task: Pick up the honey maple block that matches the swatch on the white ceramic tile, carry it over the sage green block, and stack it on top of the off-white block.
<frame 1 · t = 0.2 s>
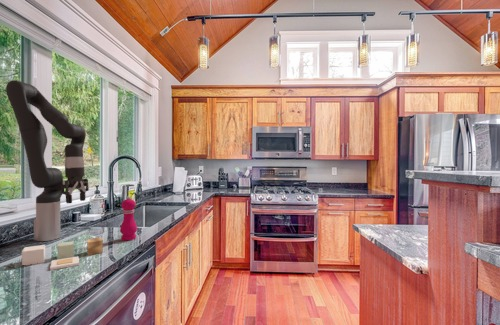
hand: (76, 201, 127), 17 cm above the countertop, tool pointing down, fingers open, 8 cm apart
maple block: (94, 252, 108), on the countertop
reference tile: (65, 263, 95), on the countertop
sage block: (66, 257, 103), on the countertop
pepper mill: (128, 239, 127), on the countertop
base block: (34, 262, 98), on the countertop
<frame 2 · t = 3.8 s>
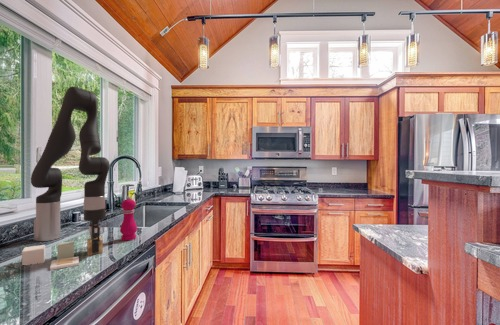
hand: (94, 250, 108), 1 cm above the countertop, tool pointing down, fingers closed on maple block, 5 cm apart
maple block: (94, 252, 108), on the countertop, touching gripper
everything else where it was.
when the fingers open (7 cm above the countertop, at t = 8.7 s): maple block drops 2 cm, resting on base block.
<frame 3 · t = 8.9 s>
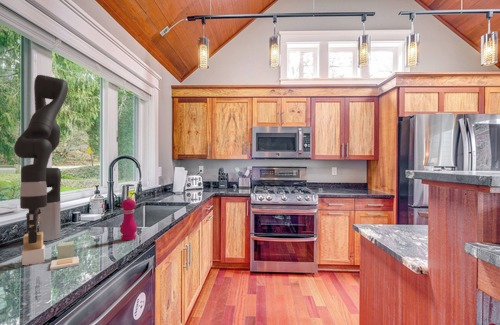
hand: (34, 240, 98), 8 cm above the countertop, tool pointing down, fingers open, 7 cm apart
maple block: (33, 248, 98), point 5 cm above the countertop, touching base block
base block: (33, 262, 98), on the countertop, touching maple block
everything else where it was.
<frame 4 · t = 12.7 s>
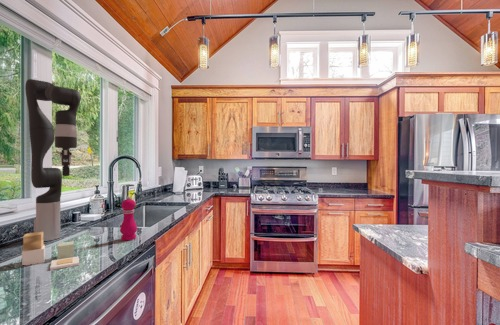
hand: (66, 175, 113), 30 cm above the countertop, tool pointing down, fingers open, 8 cm apart
nothing on the countertop moved.
at the end: maple block 0.1 cm off-centre on the base block, point 5.0 cm above the base block's base; maple block tilted 0°; base block moved 0.2 cm from its start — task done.
